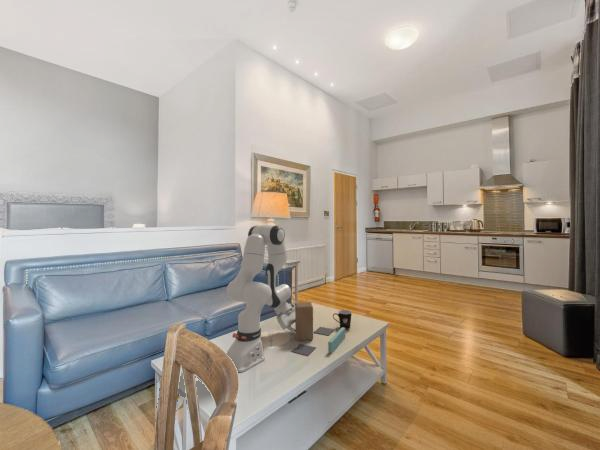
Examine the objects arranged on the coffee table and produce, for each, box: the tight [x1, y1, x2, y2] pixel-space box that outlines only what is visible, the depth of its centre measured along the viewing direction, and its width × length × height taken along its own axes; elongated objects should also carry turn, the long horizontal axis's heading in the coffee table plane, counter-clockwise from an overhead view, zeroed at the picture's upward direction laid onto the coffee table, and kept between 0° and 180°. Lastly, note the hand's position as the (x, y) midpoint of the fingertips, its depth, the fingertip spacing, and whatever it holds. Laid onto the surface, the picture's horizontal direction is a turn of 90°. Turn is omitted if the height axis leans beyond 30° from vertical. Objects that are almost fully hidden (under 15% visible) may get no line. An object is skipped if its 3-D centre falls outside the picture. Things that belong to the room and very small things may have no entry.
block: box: [294, 301, 314, 342], centre depth 165 cm, size 10×10×20 cm
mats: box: [290, 326, 335, 357], centre depth 162 cm, size 38×10×1 cm, turn 152°
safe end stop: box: [327, 327, 346, 355], centre depth 155 cm, size 22×2×6 cm, turn 152°
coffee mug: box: [332, 309, 352, 330], centre depth 182 cm, size 12×9×10 cm
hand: (298, 329), depth 167 cm, fingers open, 8 cm apart
